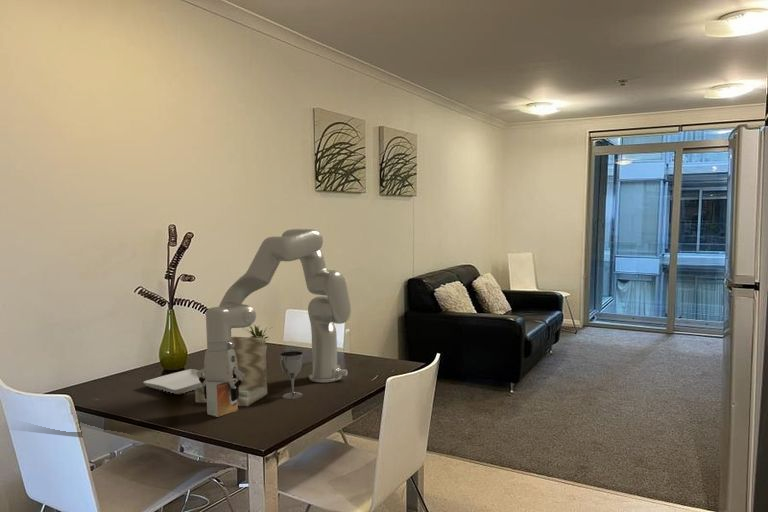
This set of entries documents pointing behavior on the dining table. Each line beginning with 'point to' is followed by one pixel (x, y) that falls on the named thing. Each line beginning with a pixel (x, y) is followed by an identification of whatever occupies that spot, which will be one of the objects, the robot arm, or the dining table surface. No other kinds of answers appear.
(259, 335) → the house plant
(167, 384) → the salad plate
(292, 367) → the wine glass
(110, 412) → the dining table surface
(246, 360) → the wavy patterned display stand
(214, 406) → the small box
